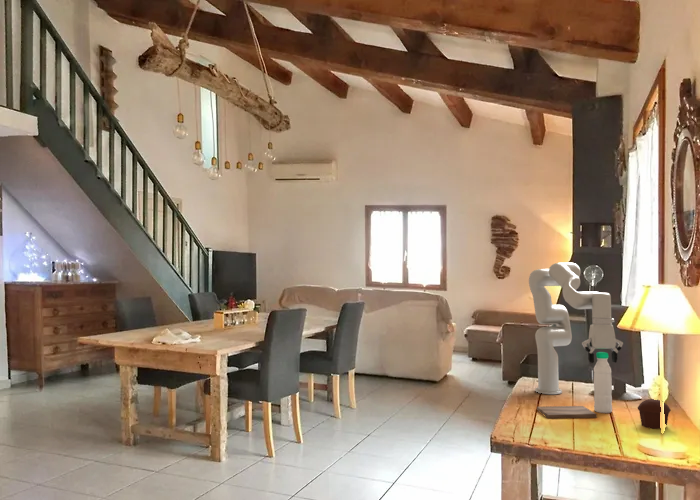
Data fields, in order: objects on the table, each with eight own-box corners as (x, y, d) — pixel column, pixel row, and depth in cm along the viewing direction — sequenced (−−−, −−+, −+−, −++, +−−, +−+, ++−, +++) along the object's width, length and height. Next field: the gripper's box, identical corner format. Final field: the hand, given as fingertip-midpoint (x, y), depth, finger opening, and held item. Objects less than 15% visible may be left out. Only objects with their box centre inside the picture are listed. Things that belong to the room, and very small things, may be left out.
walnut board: (536, 410, 264) (536, 406, 264) (583, 409, 264) (582, 405, 264) (547, 418, 250) (547, 414, 250) (596, 417, 250) (596, 414, 250)
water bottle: (609, 409, 264) (608, 351, 264) (614, 413, 257) (613, 353, 257) (592, 409, 264) (591, 351, 265) (597, 413, 257) (596, 353, 258)
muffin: (647, 430, 232) (647, 403, 232) (631, 422, 243) (631, 397, 243) (677, 429, 233) (677, 402, 233) (660, 421, 244) (659, 396, 244)
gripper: (618, 320, 265) (619, 360, 264) (578, 321, 265) (579, 361, 264) (626, 322, 257) (627, 363, 257) (585, 322, 257) (586, 363, 257)
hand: (602, 362), depth 260 cm, fingers open, 9 cm apart
